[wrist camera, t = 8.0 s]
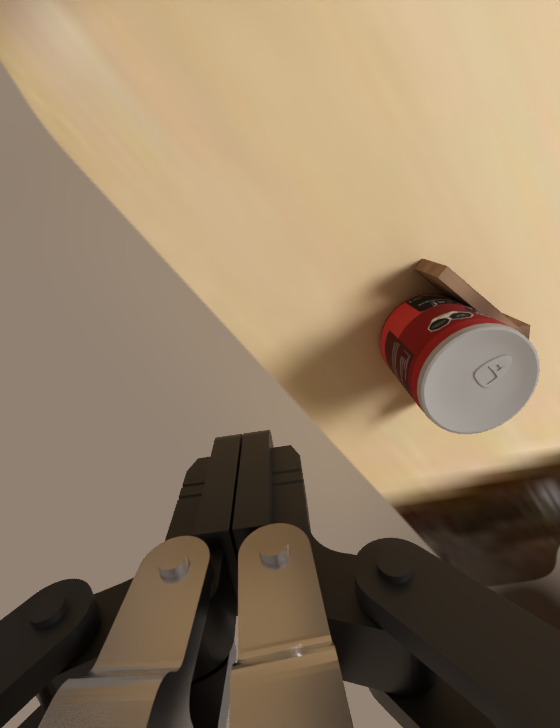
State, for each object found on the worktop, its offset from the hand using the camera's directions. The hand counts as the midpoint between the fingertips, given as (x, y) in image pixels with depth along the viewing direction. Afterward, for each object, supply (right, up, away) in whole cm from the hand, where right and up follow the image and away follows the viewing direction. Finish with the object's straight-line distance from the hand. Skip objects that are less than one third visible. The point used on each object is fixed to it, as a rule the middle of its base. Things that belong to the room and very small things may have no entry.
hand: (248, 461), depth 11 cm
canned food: (+14, +5, +25) cm, 29 cm away
